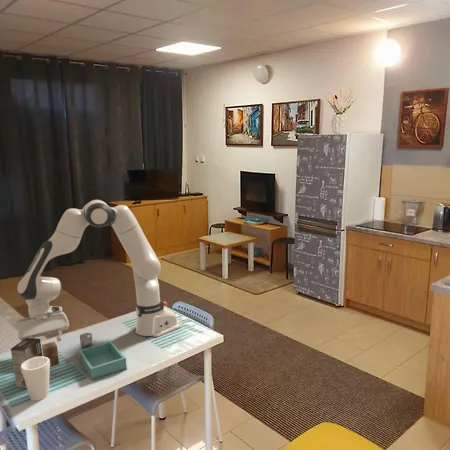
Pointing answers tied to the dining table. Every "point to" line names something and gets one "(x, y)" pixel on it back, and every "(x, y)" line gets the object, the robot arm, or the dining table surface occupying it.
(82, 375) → the dining table surface
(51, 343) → the walnut block
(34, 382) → the foam cup
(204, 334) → the dining table surface
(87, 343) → the grey cylinder
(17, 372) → the coffee box
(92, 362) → the tote
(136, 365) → the dining table surface
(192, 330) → the dining table surface
